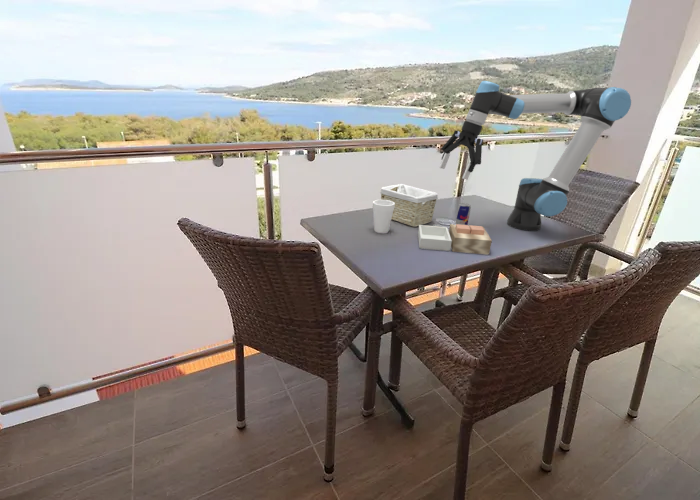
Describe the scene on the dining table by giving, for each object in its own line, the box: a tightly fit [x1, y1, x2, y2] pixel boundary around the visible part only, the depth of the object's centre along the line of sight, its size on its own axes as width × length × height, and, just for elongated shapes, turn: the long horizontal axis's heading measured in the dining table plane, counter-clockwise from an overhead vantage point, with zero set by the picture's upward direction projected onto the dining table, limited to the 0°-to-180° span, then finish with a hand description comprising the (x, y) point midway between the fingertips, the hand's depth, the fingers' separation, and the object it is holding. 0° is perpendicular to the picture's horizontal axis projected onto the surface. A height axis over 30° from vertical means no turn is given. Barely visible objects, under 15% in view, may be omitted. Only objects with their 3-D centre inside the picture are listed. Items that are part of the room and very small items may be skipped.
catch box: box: [417, 224, 452, 252], centre depth 154 cm, size 12×16×4 cm
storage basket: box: [379, 183, 439, 228], centre depth 180 cm, size 24×16×15 cm
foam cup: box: [372, 199, 395, 234], centre depth 163 cm, size 10×9×13 cm
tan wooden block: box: [448, 223, 493, 256], centre depth 153 cm, size 14×16×6 cm
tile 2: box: [469, 224, 486, 235], centre depth 151 cm, size 5×5×2 cm
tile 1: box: [455, 223, 470, 234], centre depth 151 cm, size 5×5×2 cm
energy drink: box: [455, 202, 472, 225], centre depth 169 cm, size 5×5×12 cm
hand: (452, 173), depth 157 cm, fingers open, 13 cm apart
